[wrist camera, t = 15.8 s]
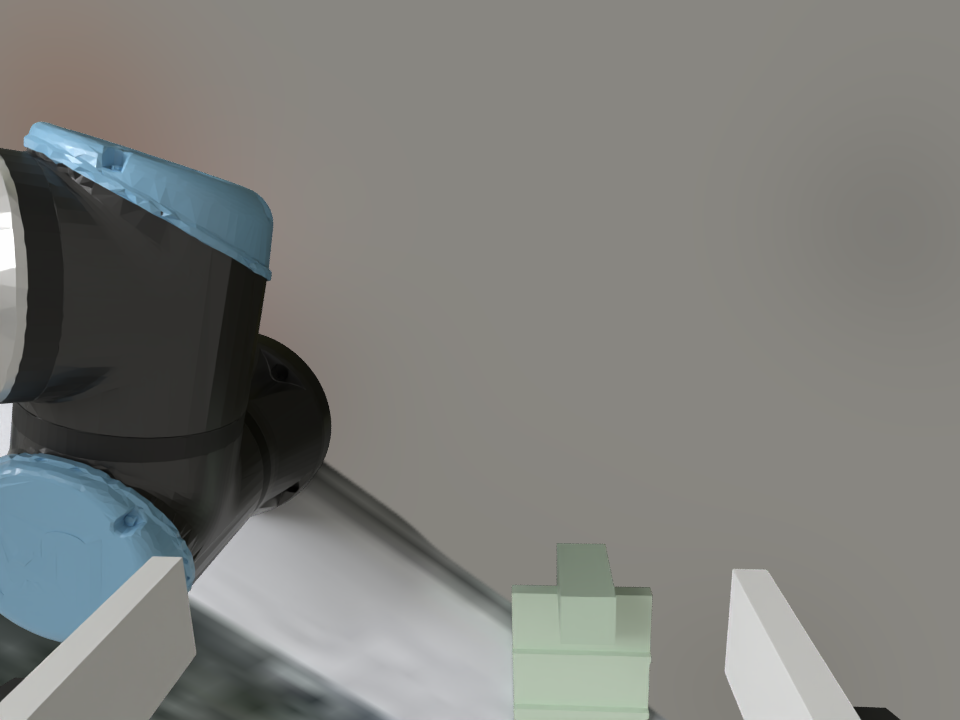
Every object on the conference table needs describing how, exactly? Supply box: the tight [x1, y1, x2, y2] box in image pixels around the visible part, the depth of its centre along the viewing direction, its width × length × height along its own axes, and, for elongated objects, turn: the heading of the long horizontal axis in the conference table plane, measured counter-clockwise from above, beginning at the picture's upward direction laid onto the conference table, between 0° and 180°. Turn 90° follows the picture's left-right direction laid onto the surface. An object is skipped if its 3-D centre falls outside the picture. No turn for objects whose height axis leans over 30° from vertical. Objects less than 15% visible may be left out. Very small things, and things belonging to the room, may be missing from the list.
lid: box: [512, 543, 652, 720], centre depth 54 cm, size 12×21×8 cm, turn 2°
